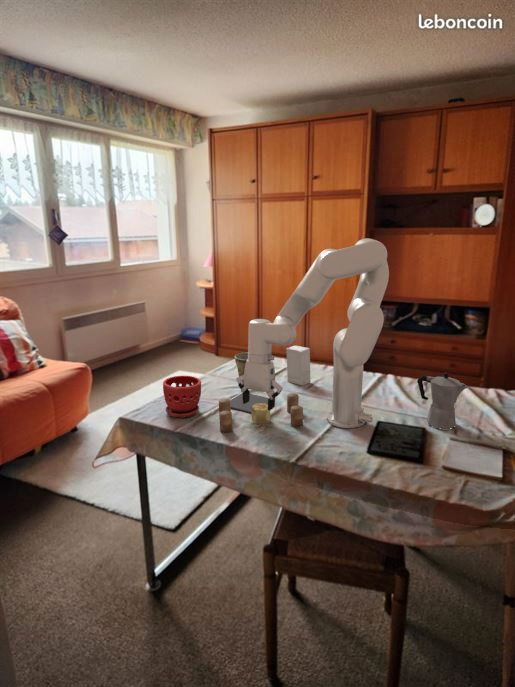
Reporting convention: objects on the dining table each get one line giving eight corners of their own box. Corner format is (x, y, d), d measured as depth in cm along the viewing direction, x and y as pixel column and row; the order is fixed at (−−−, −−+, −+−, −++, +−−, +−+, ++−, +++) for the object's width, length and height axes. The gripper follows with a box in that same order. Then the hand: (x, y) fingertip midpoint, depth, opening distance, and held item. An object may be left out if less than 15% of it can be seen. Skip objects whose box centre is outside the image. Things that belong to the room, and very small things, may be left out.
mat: (274, 400, 171) (274, 399, 171) (255, 414, 159) (255, 412, 159) (243, 393, 178) (243, 392, 178) (222, 406, 166) (222, 404, 166)
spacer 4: (304, 423, 152) (305, 407, 150) (299, 428, 149) (299, 411, 147) (293, 421, 154) (294, 404, 152) (288, 425, 151) (288, 408, 149)
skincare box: (310, 382, 189) (311, 348, 184) (301, 386, 184) (301, 351, 180) (295, 377, 194) (295, 344, 190) (285, 381, 190) (286, 347, 186)
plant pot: (187, 423, 153) (185, 390, 150) (157, 415, 159) (154, 383, 156) (209, 409, 164) (208, 377, 161) (180, 402, 170) (178, 372, 167)
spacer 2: (234, 429, 149) (234, 412, 147) (227, 434, 145) (227, 416, 144) (224, 426, 151) (224, 409, 149) (217, 431, 147) (216, 414, 146)
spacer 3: (300, 410, 162) (300, 394, 161) (295, 414, 159) (295, 398, 157) (290, 408, 164) (290, 392, 163) (285, 412, 161) (285, 396, 159)
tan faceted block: (258, 415, 159) (258, 401, 157) (272, 418, 156) (272, 405, 155) (249, 422, 154) (248, 408, 152) (263, 425, 151) (263, 411, 149)
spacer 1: (233, 416, 158) (232, 400, 157) (226, 420, 155) (226, 404, 153) (223, 413, 160) (223, 397, 158) (216, 418, 157) (216, 401, 155)
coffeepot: (465, 423, 151) (471, 372, 146) (458, 434, 143) (465, 381, 138) (418, 412, 159) (422, 363, 154) (409, 422, 152) (414, 371, 147)
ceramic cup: (234, 375, 198) (233, 353, 196) (257, 374, 200) (257, 352, 197) (236, 385, 186) (235, 362, 183) (260, 384, 187) (260, 361, 184)
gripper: (288, 358, 148) (286, 407, 152) (243, 350, 156) (242, 396, 161) (277, 365, 141) (275, 415, 146) (231, 355, 150) (230, 403, 155)
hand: (258, 405), depth 153 cm, fingers open, 9 cm apart
